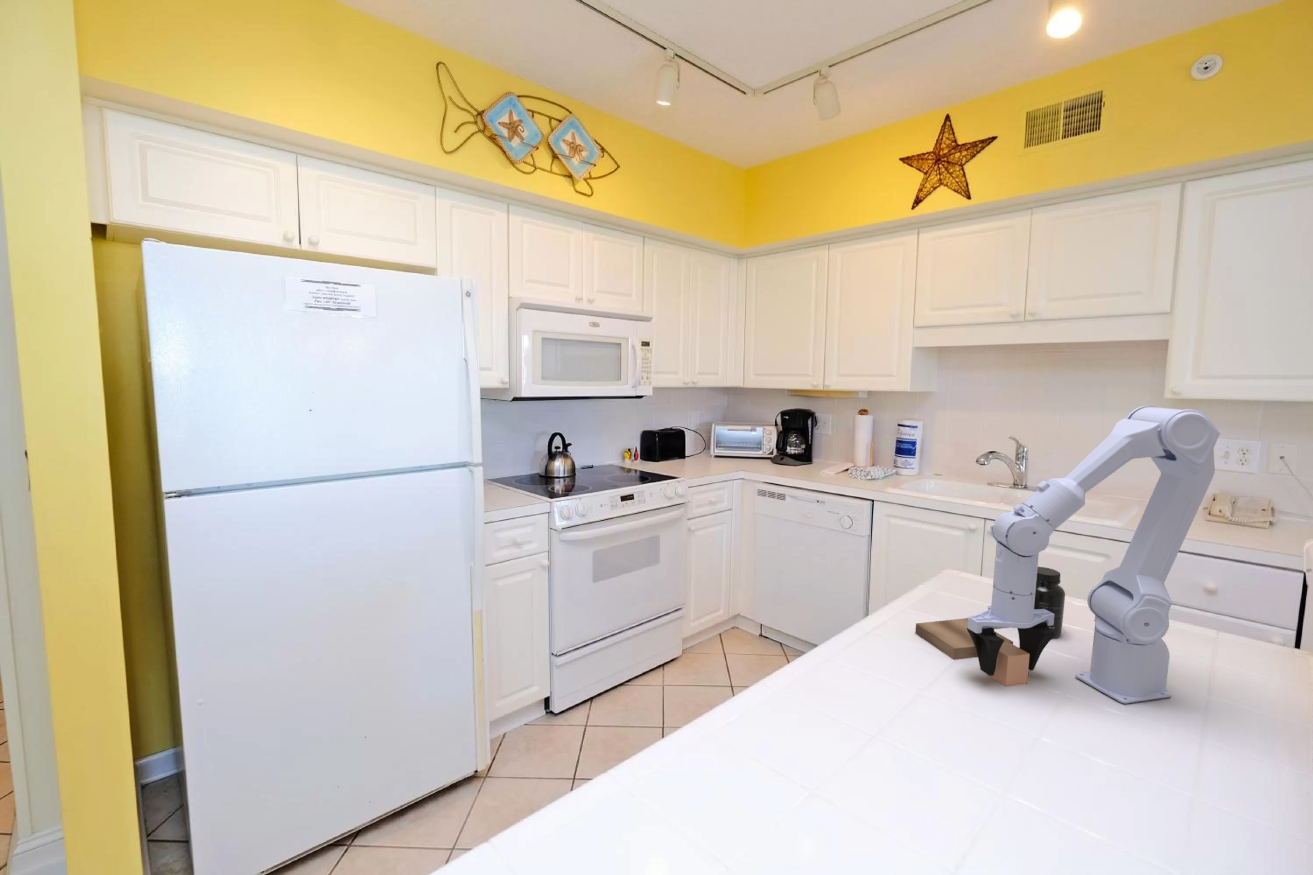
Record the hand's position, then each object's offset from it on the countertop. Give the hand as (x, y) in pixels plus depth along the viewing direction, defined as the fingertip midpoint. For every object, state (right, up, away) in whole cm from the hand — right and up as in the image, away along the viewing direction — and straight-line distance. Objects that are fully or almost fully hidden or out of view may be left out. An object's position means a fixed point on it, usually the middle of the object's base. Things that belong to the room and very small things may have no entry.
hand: (1006, 669), depth 93 cm
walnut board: (-1, -1, +12) cm, 12 cm away
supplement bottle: (+17, 0, +17) cm, 24 cm away
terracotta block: (0, -2, 0) cm, 2 cm away
